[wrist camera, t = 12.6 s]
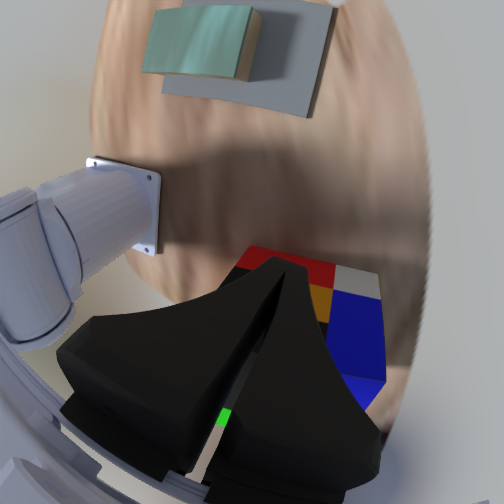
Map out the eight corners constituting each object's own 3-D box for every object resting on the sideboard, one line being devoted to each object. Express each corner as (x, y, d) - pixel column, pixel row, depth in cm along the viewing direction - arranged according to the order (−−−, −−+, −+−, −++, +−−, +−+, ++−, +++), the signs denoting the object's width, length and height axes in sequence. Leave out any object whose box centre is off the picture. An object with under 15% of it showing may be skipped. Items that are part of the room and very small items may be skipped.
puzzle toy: (377, 273, 19) (386, 381, 11) (342, 360, 24) (326, 453, 15) (250, 245, 21) (186, 330, 13) (243, 335, 26) (199, 417, 18)
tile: (247, 82, 15) (162, 74, 17) (263, 18, 13) (175, 18, 14) (233, 77, 13) (141, 72, 14) (251, 6, 11) (155, 10, 12)
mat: (163, 93, 18) (161, 93, 17) (185, -1, 13) (184, -2, 13) (306, 118, 16) (305, 118, 15) (333, 8, 11) (332, 6, 11)
